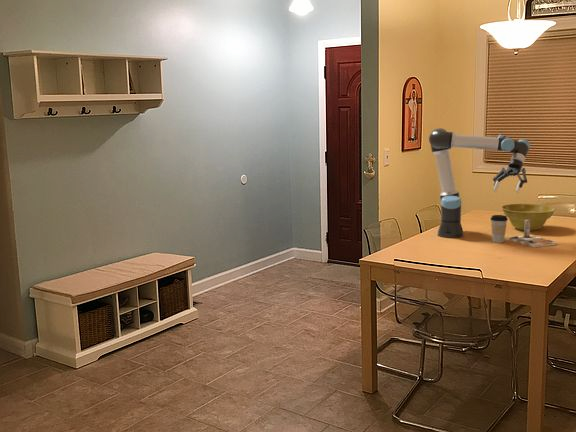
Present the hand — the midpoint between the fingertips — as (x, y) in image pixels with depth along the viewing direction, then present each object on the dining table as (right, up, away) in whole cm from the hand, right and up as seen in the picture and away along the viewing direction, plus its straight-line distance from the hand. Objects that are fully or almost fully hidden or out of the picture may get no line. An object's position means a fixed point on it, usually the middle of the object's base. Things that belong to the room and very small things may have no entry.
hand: (505, 191), depth 363 cm
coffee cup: (-5, -29, -2) cm, 30 cm away
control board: (+13, -29, -5) cm, 33 cm away
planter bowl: (+25, -23, +32) cm, 47 cm away
